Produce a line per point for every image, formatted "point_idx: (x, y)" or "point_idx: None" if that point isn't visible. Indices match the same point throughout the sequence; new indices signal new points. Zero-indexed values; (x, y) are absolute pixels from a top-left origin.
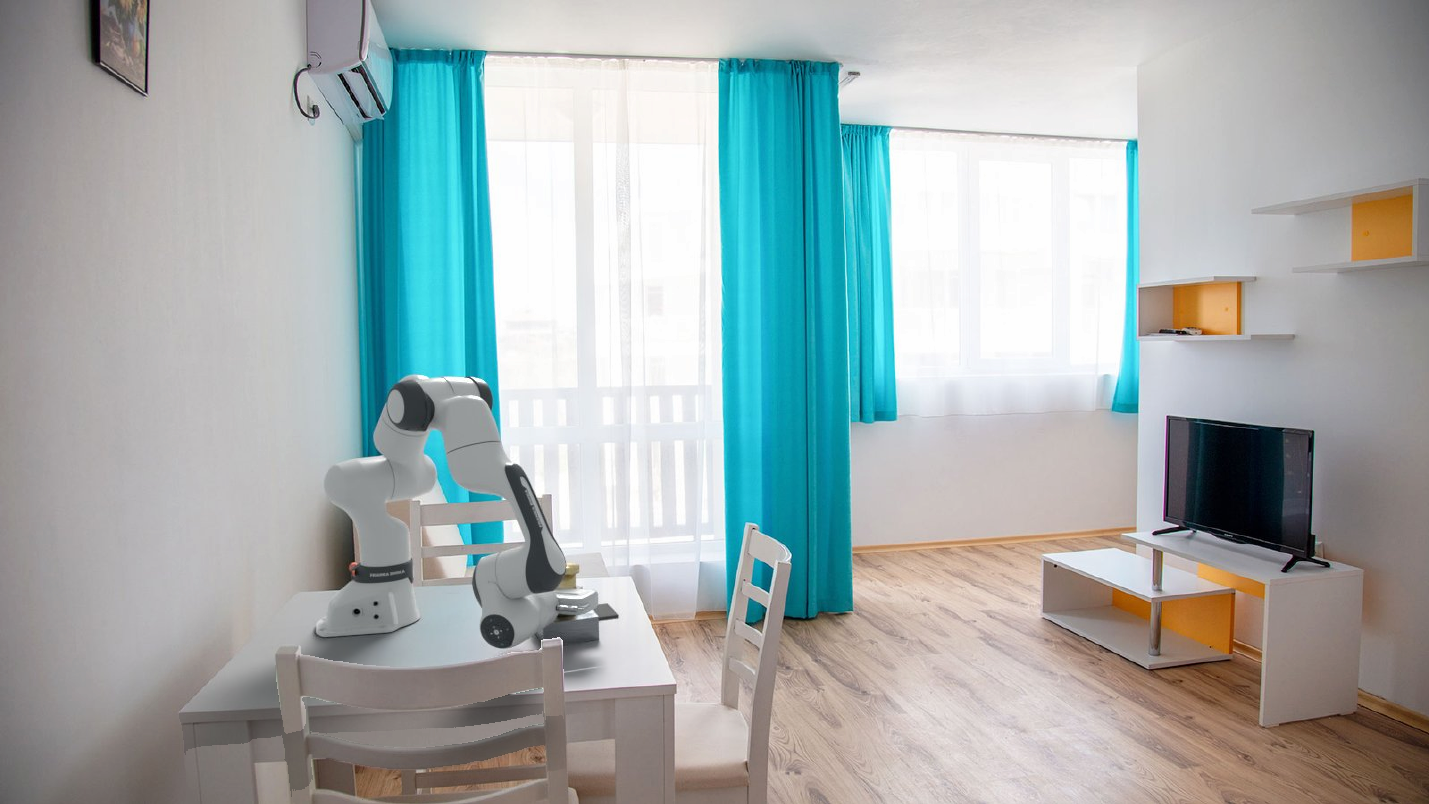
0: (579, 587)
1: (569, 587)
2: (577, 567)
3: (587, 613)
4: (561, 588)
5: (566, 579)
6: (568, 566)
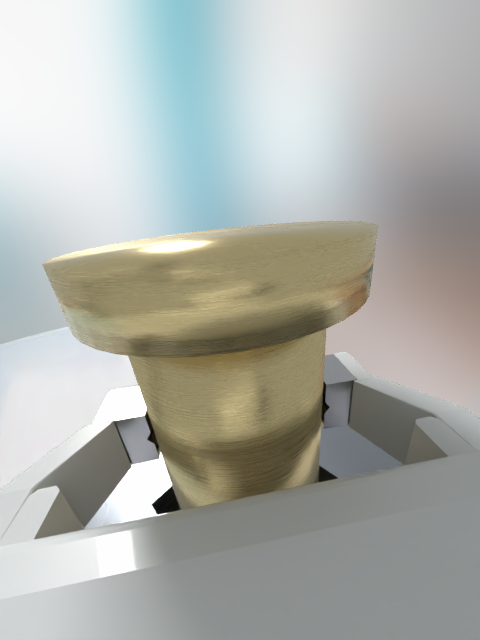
0: (359, 368)
1: (320, 399)
2: (345, 221)
3: (364, 463)
4: (431, 561)
5: (311, 347)
6: (251, 231)
